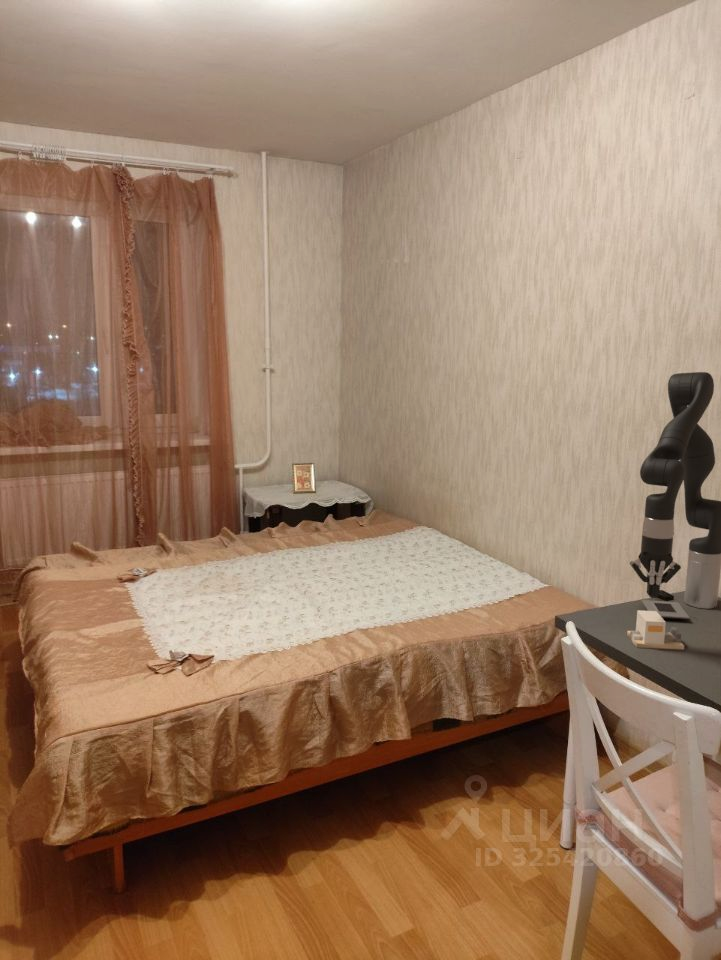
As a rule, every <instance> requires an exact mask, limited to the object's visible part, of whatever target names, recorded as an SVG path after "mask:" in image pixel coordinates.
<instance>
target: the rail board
mask: <svg viewBox="0 0 721 960" xmlns="http://www.w3.org/2000/svg"><path fill="white" fill-rule="evenodd" d="M626 634H627V636H628V637H629V639H630V640H631V642H632V644H633V645H634V646H635V647H636V648H640V649H641V648H643V649H661V650H664V649H665V650H683V651H684V650H685V645H684V644H683V642H682V638H681V637H682V633H681V632H680V631H679V630H678V628H677V627H673V626H672V627H670V631H669V632H668V631H667V632H666V631H665V638H664V644H646V643H644V642H643V636H642V635H641V634H640V632H639V631H636V630H627V633H626Z"/></svg>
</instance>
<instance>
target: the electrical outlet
mask: <svg viewBox="0 0 721 960" xmlns="http://www.w3.org/2000/svg"><path fill="white" fill-rule="evenodd" d="M641 602H642V604H643V605H644V608H646V611H657V613H658V614H659V615H660V616H661V617H662V618H663V619H669V620H680V621H681V620H684V621H687V620H689V619H690V616H689V615H688V614H687V612H686V611H685V610H684V609H683V607H682V606H681V604H680V603H679V602H677V601H664V600H663V601H662V600H661V601H660V600H650V599H649V600H648V599H642V600H641Z"/></svg>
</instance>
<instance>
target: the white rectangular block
mask: <svg viewBox="0 0 721 960" xmlns="http://www.w3.org/2000/svg"><path fill="white" fill-rule="evenodd" d="M664 619H665V618H662V617H661V616H660V615H659V614H658V613H657V611H647V610H637V611H636V622H635V623H636V624H635V631H639V632H640V634H641V635H642V636H643V642H644V643H646V644H664V638H665V632H666V625H667V623H666V622H667V621H665V620H664Z"/></svg>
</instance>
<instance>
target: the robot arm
mask: <svg viewBox="0 0 721 960" xmlns="http://www.w3.org/2000/svg"><path fill="white" fill-rule="evenodd" d="M714 390H715V383H714V379H713V376H712V375H711V373H710V372H706V371H704V372H703V371H697V372H696V371H695V372H681V373H674V374H672V375H671V376H669V379H668V383H667V393H668V399H669V404H670V408H671V413H672V416H673V418H672V419H670V421H669V422H668V423H667V424H666V426H665V427H663V430H662V432H661V434H660V436H659V439H658V443H657V445H656V446H655V447H654V448H653V450H652V451H651V452H650V453H649V454H648V455H647V457H646V458H645V459H644V461H643V462H642V464H641V466H640V471H639V476H640V479H641V481H642V482H643V483H644V484H646V485H650V486H660V487H667V488H666V491H665V492H662V493H652V494H648V495H647V497H646V498H645V506H644V508H645V509H644V518H643V522H642V528H641V529H642V530H641V531H642V533H641V541H640V542H641V544H640V545H641V546H640V553H639V554H638V556H637V557H638V558H636V560H634V561H632V560H631V561H630V562H629V566H631V568H632V569H633V570H634V572H635V574H636V575H637V576H638V578H639V579H640V580H641V581H642V582H643V583H647V584H646V594H647V596H648V597H650V598H651V599H657V598H658V597H659V595H660V590H661V589H660V588H661V585H663V584H667V583H668V582H669V581H670V580H671V579H672V578H673V577H674V576H676V574H677V573H678V572H679V571H680V570H681V568H682V566H681V565H680V564H679V563H677V562H675V561H674V557H673V555H672V553H673V542H674V535H675V524H674V519H675V508H676V501H677V498H678V494H679V491H680V489H681V486H682V485H683V487H684V490H683V491H684V509H685V513H684V514H685V519H686V522H687V523H688V525H689V526H690V527H694V528H698V529H704V530H708V533H707V536H702V537H695V538H692V539H690V541H689V542H688V554H687V555H688V556H687V566H686V567H687V568H686V575H685V577H686V579H685V580H686V581H685V588H684V600H683V602H684V603H685V604H686V605H688V606H690V607H694V608H698V609H715V608H717V607H718V599H719V589H720V579H721V500H716V499H709V498H704V497H702V487H703V484H704V482H705V481H706V479H707V478H708V476H709V475H710V474H711V472H712V471H713V469H714V468H715V465H716V457H715V448H714V442H713V440H712V438H711V437H710V435H709V434H708V433H707V432H706V431H705V430H704V429H703V428H702V427H701V426H700V424H698V423H699V422H700V420H701V418H702V417H703V415H704V414H705V412H706V410H707V409H708V406H709V404H710V403H711V401H712V398H713V396H714ZM641 567H643V568H644V569H645V573H646V576H645V574H644V573H643V571H642V570H641ZM667 568H668V569H667ZM665 570H666V571H665ZM716 606H717V607H716ZM714 607H715V608H714Z"/></svg>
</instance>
